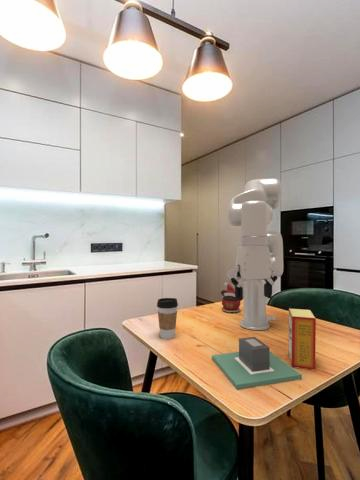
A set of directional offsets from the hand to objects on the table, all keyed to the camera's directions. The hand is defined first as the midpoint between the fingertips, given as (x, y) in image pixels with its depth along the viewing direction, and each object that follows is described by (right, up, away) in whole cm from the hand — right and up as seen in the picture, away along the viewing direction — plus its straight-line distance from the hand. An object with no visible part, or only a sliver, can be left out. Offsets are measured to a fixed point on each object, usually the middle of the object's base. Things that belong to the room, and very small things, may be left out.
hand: (253, 298), depth 82 cm
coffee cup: (-27, -21, +26) cm, 43 cm away
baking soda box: (+16, -21, +5) cm, 27 cm away
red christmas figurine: (+5, -20, +61) cm, 65 cm away
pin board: (0, -21, 0) cm, 21 cm away
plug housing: (0, -20, 0) cm, 20 cm away
